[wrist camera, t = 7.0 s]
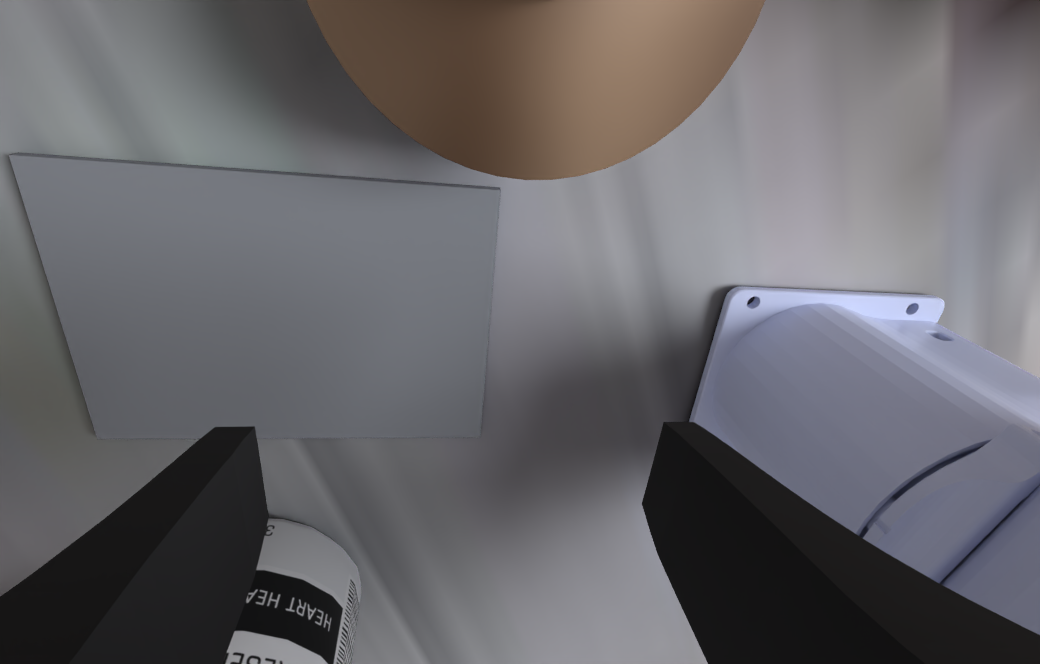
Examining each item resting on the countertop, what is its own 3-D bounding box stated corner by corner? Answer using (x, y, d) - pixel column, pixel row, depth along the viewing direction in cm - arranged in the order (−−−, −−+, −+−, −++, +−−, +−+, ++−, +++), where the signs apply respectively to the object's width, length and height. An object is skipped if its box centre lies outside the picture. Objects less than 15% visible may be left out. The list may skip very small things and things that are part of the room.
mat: (499, 187, 18) (500, 190, 17) (479, 431, 22) (480, 437, 22) (18, 152, 15) (8, 154, 15) (103, 432, 20) (97, 439, 20)
